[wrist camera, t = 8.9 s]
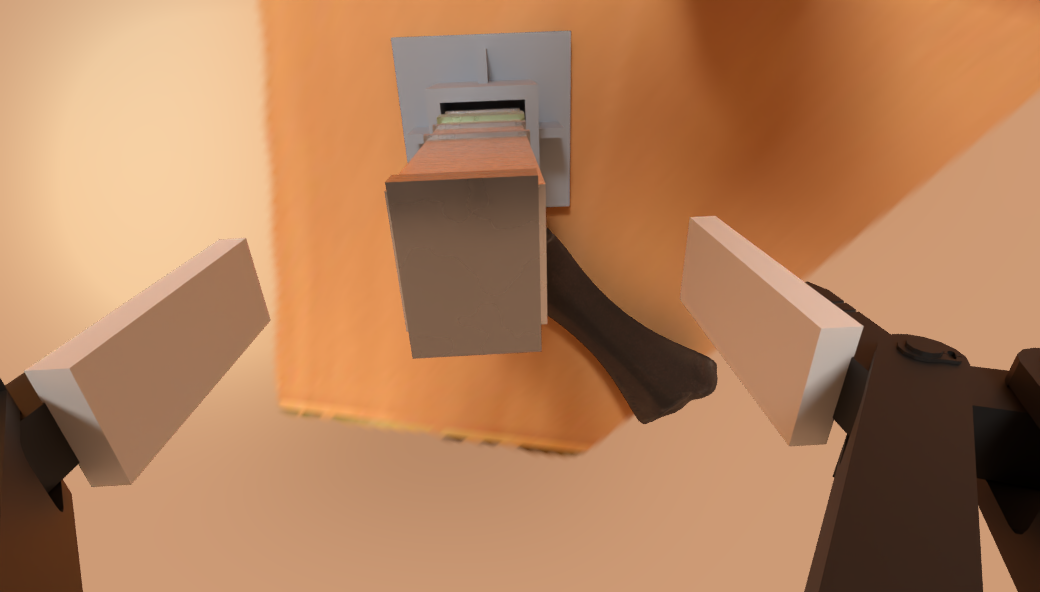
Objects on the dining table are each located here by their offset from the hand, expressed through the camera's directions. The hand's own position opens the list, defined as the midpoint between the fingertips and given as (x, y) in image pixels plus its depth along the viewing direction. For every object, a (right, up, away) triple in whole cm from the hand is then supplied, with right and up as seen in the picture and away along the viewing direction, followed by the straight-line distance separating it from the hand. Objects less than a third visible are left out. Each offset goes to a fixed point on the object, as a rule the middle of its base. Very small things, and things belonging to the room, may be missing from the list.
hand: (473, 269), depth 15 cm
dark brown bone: (+11, -3, +44) cm, 46 cm away
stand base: (-2, +16, +34) cm, 37 cm away
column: (-1, +12, +25) cm, 28 cm away
